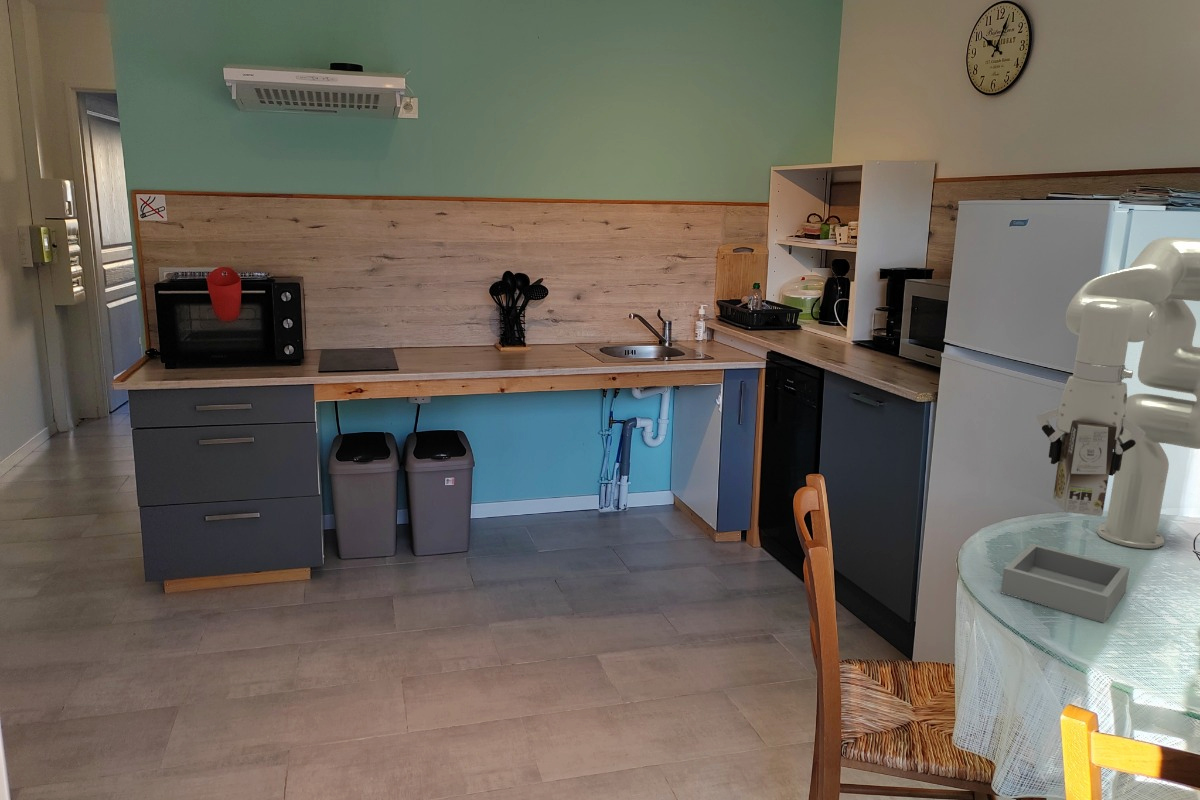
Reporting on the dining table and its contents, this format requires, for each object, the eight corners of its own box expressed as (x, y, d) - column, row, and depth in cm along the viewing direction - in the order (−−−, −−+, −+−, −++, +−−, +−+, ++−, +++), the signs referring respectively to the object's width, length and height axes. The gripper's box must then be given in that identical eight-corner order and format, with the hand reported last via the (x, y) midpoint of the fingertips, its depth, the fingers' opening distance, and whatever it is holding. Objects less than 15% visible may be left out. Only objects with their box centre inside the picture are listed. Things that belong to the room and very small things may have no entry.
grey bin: (1028, 566, 178) (1031, 543, 177) (1125, 592, 168) (1129, 568, 166) (1000, 592, 166) (1003, 568, 164) (1103, 623, 155) (1108, 596, 154)
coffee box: (1104, 517, 158) (1118, 427, 154) (1063, 512, 159) (1077, 423, 156) (1089, 500, 166) (1103, 415, 163) (1051, 496, 168) (1064, 412, 164)
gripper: (1159, 377, 155) (1142, 474, 159) (1050, 363, 166) (1037, 454, 169) (1150, 383, 149) (1133, 483, 153) (1038, 368, 160) (1025, 462, 164)
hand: (1082, 467), depth 161 cm, fingers closed on coffee box, 8 cm apart
